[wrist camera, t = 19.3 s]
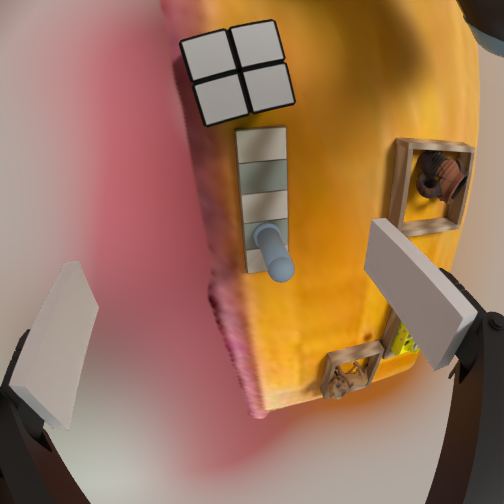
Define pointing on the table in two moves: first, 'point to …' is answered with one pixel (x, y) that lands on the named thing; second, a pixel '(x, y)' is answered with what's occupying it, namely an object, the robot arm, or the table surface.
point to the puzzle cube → (238, 71)
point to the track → (261, 186)
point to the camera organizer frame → (390, 334)
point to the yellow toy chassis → (403, 342)
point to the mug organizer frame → (403, 178)
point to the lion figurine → (346, 381)
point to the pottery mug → (446, 170)
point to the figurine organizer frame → (348, 355)
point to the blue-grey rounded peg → (274, 252)
